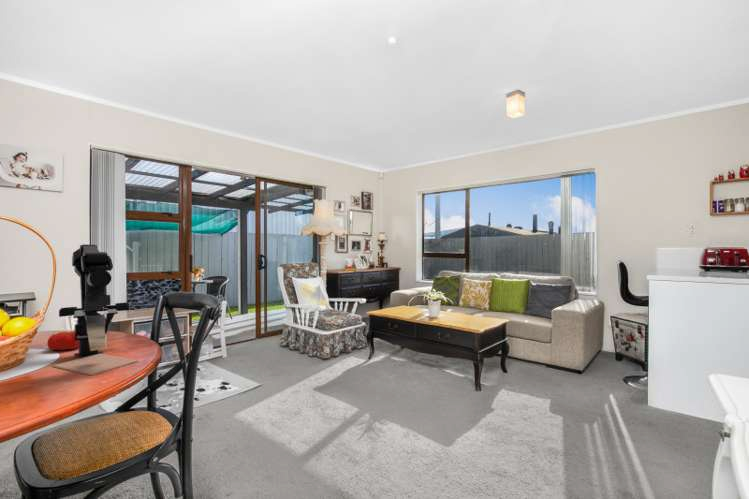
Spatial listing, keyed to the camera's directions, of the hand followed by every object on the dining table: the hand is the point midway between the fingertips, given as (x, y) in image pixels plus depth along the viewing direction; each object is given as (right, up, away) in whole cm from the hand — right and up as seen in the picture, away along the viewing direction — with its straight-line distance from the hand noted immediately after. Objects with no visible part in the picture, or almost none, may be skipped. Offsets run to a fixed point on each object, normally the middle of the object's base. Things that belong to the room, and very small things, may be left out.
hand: (96, 334), depth 122 cm
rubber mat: (-3, -11, +3) cm, 12 cm away
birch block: (-3, -4, +4) cm, 7 cm away
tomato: (-29, -11, +22) cm, 38 cm away
